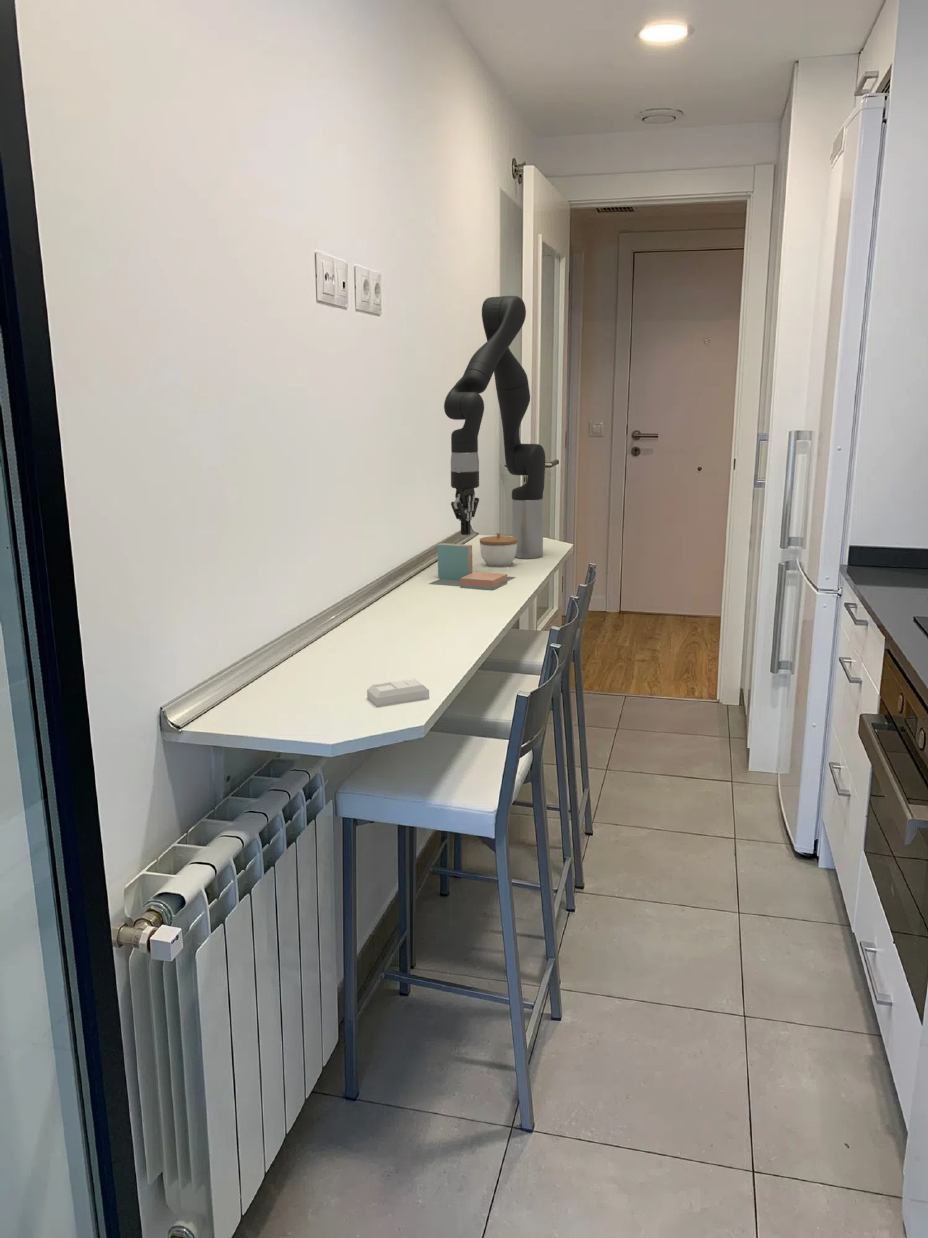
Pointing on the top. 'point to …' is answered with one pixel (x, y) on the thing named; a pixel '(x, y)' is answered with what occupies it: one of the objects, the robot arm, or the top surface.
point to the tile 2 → (483, 580)
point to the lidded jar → (498, 550)
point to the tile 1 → (454, 560)
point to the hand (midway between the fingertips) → (465, 534)
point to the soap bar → (397, 692)
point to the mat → (454, 581)
